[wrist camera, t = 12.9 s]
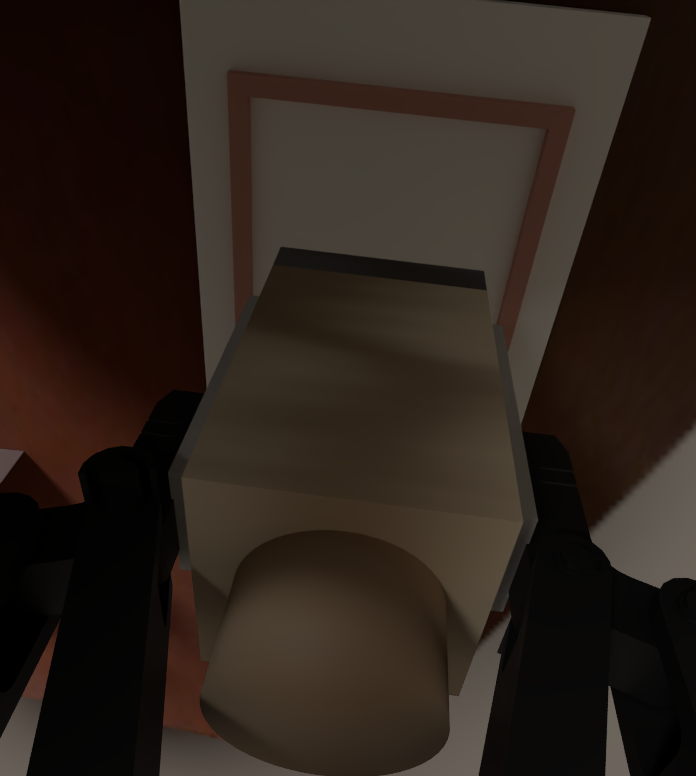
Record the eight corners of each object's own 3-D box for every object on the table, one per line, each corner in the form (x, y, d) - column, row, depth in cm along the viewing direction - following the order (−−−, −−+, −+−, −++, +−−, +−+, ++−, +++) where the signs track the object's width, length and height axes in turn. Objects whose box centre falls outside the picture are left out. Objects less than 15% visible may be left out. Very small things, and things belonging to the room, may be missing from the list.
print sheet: (210, 386, 27) (204, 401, 26) (183, -33, 18) (172, -30, 17) (516, 424, 27) (519, 440, 26) (645, 14, 18) (655, 20, 17)
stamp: (277, 404, 19) (167, 771, 11) (280, 246, 16) (131, 594, 8) (447, 426, 19) (463, 813, 11) (483, 270, 16) (543, 650, 8)
